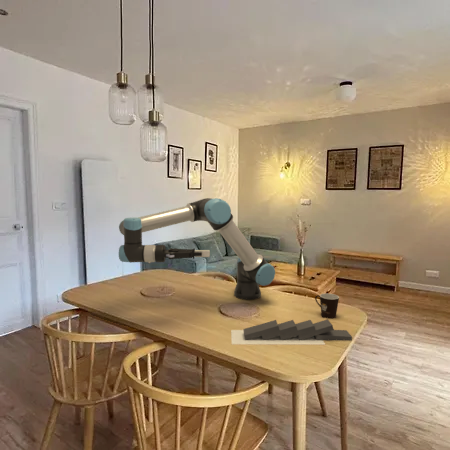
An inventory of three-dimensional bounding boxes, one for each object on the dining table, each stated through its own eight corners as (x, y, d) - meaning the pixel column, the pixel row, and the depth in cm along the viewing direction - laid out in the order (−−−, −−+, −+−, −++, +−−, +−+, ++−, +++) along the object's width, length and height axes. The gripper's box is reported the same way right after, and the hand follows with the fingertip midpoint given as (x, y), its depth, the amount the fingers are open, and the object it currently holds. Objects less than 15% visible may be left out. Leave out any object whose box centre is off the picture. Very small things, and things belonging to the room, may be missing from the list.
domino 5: (316, 335, 128) (352, 336, 128) (312, 328, 134) (346, 330, 134) (316, 340, 128) (351, 341, 128) (312, 333, 134) (346, 334, 134)
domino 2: (261, 335, 128) (296, 325, 128) (260, 329, 134) (293, 319, 134) (263, 340, 128) (297, 330, 128) (261, 333, 134) (294, 324, 134)
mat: (231, 331, 138) (231, 329, 138) (316, 331, 138) (316, 330, 138) (231, 345, 125) (231, 344, 125) (325, 345, 125) (325, 344, 125)
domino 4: (298, 335, 128) (332, 325, 128) (294, 329, 134) (327, 319, 134) (299, 340, 128) (333, 329, 128) (296, 333, 134) (328, 323, 134)
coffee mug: (341, 319, 150) (342, 298, 149) (324, 321, 149) (324, 299, 148) (329, 310, 162) (330, 291, 161) (313, 311, 160) (313, 292, 159)
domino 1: (244, 335, 128) (278, 325, 128) (243, 329, 134) (276, 319, 134) (245, 340, 128) (279, 330, 128) (244, 333, 134) (277, 324, 134)
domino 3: (280, 335, 128) (314, 325, 128) (277, 329, 134) (310, 319, 134) (281, 340, 128) (315, 330, 128) (278, 333, 134) (311, 324, 134)
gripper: (158, 258, 149) (210, 258, 149) (152, 265, 136) (209, 265, 136) (158, 242, 148) (210, 242, 148) (152, 247, 135) (208, 247, 135)
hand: (209, 253), depth 142 cm, fingers closed
